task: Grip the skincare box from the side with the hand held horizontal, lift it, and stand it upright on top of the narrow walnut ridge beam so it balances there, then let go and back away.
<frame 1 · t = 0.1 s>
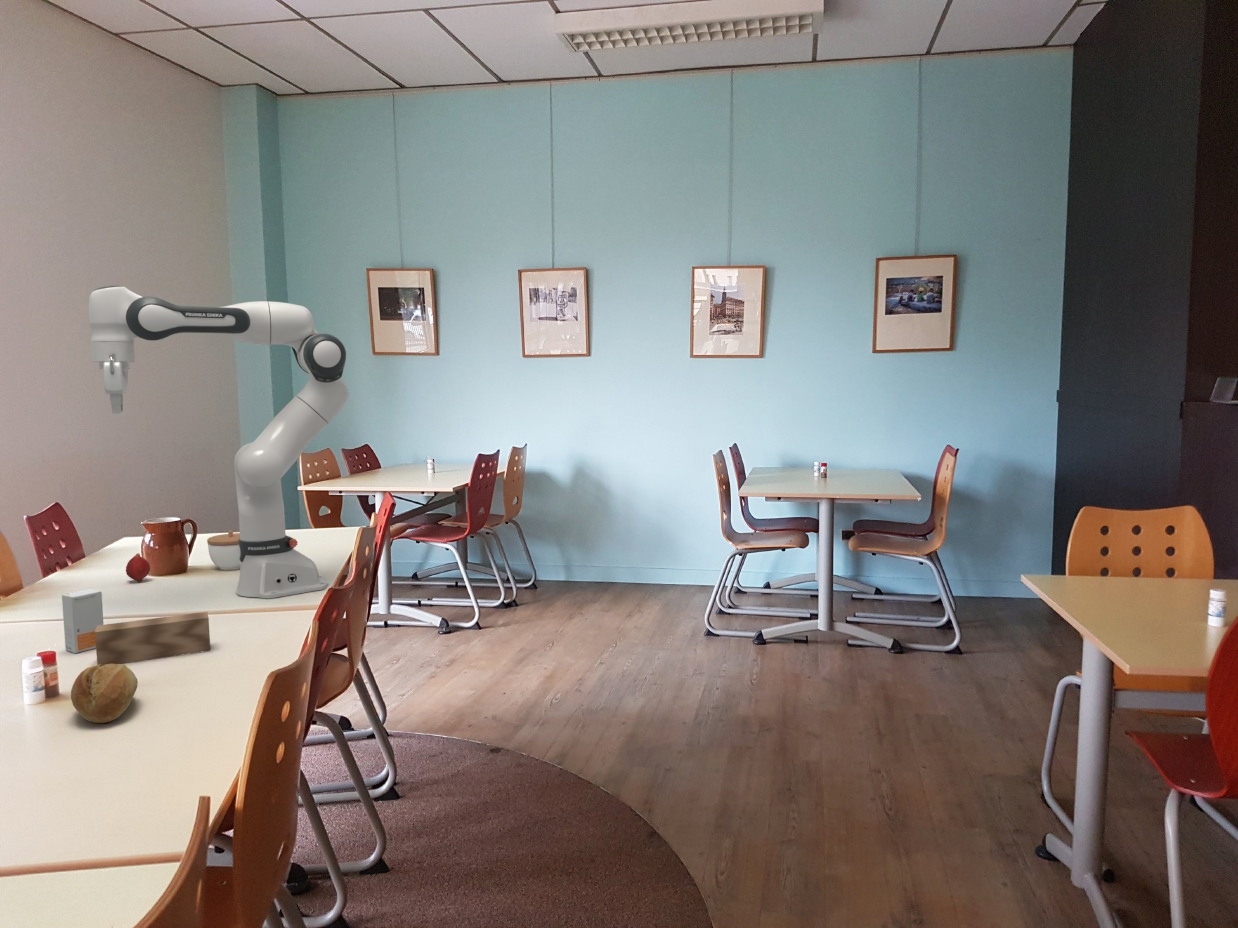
hand: (117, 412, 202), 48 cm above the table, tool pointing down, fingers open, 8 cm apart
bread roll: (106, 713, 143), on the table
lidded bowl: (232, 568, 249), on the table
ridge: (155, 654, 172), on the table
skincare box: (86, 649, 176), on the table
onion: (139, 582, 233), on the table
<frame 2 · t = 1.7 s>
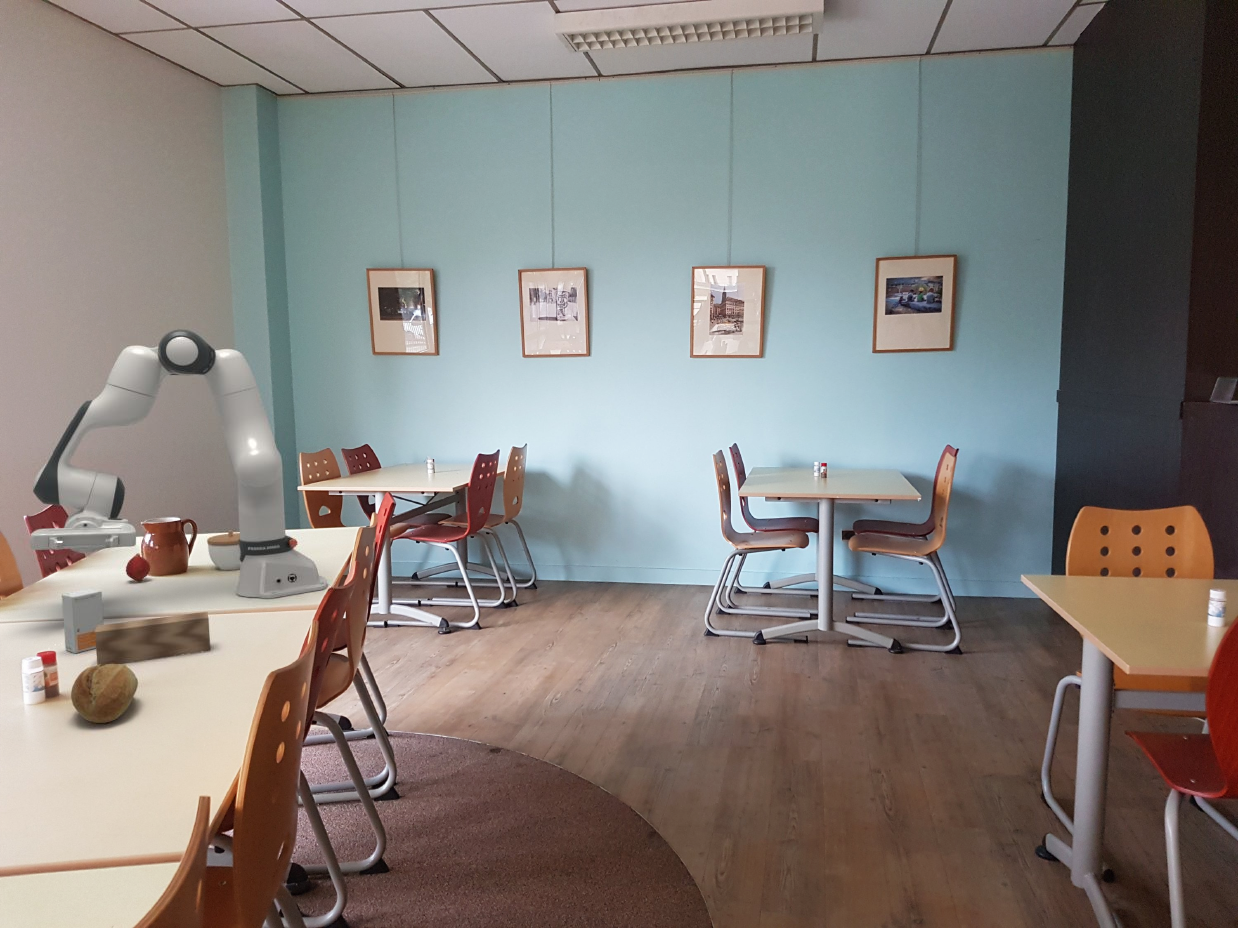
hand: (83, 544, 185), 20 cm above the table, tool horizontal, fingers open, 8 cm apart
nothing on the table moved.
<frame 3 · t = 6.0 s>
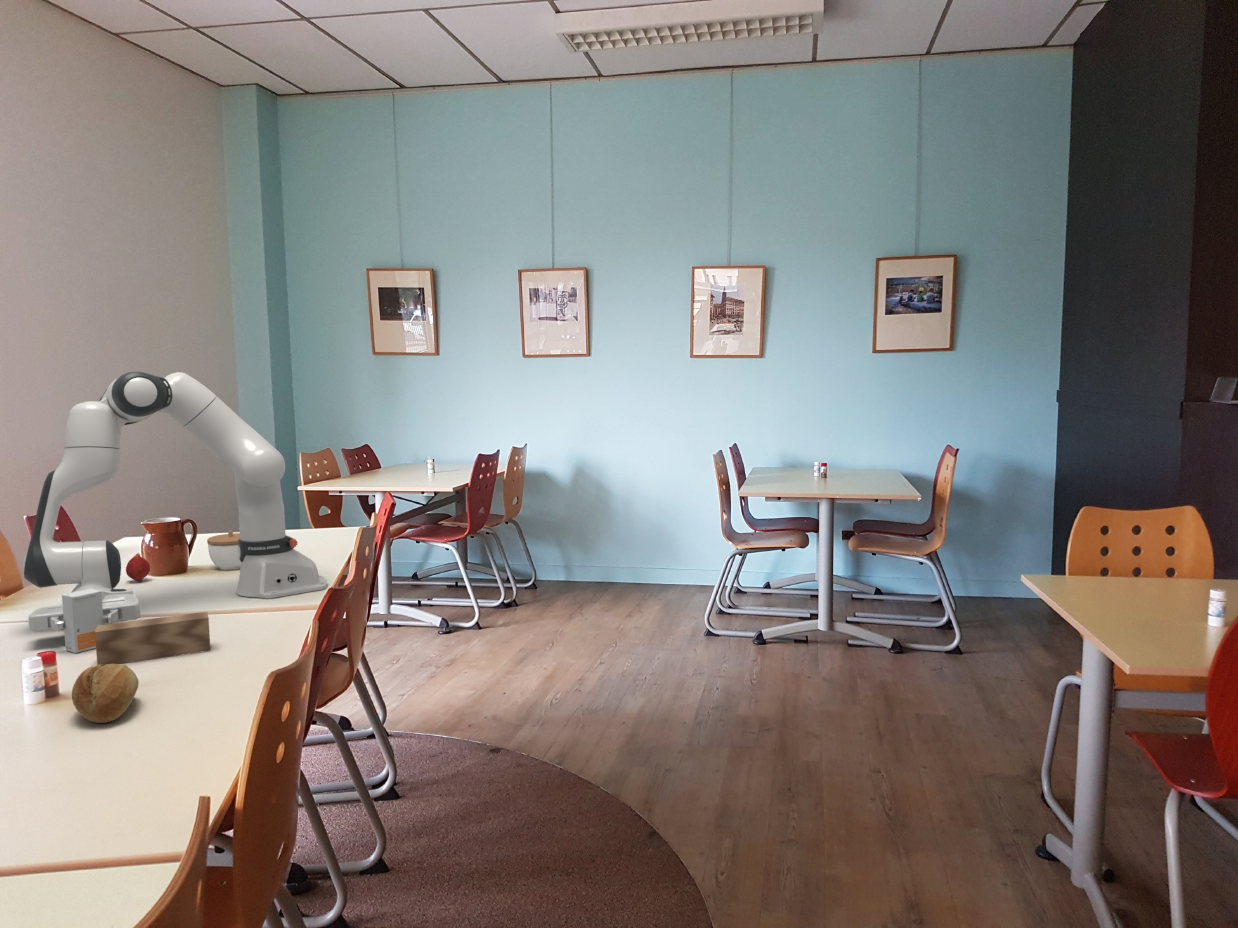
hand: (83, 623, 175), 6 cm above the table, tool horizontal, fingers closed on skincare box, 7 cm apart
skincare box: (86, 649, 176), on the table, touching gripper
everything else where it was.
when the fingers open (13 cm above the table, at t = 11.0 s): skincare box stays where it is, resting on ridge.
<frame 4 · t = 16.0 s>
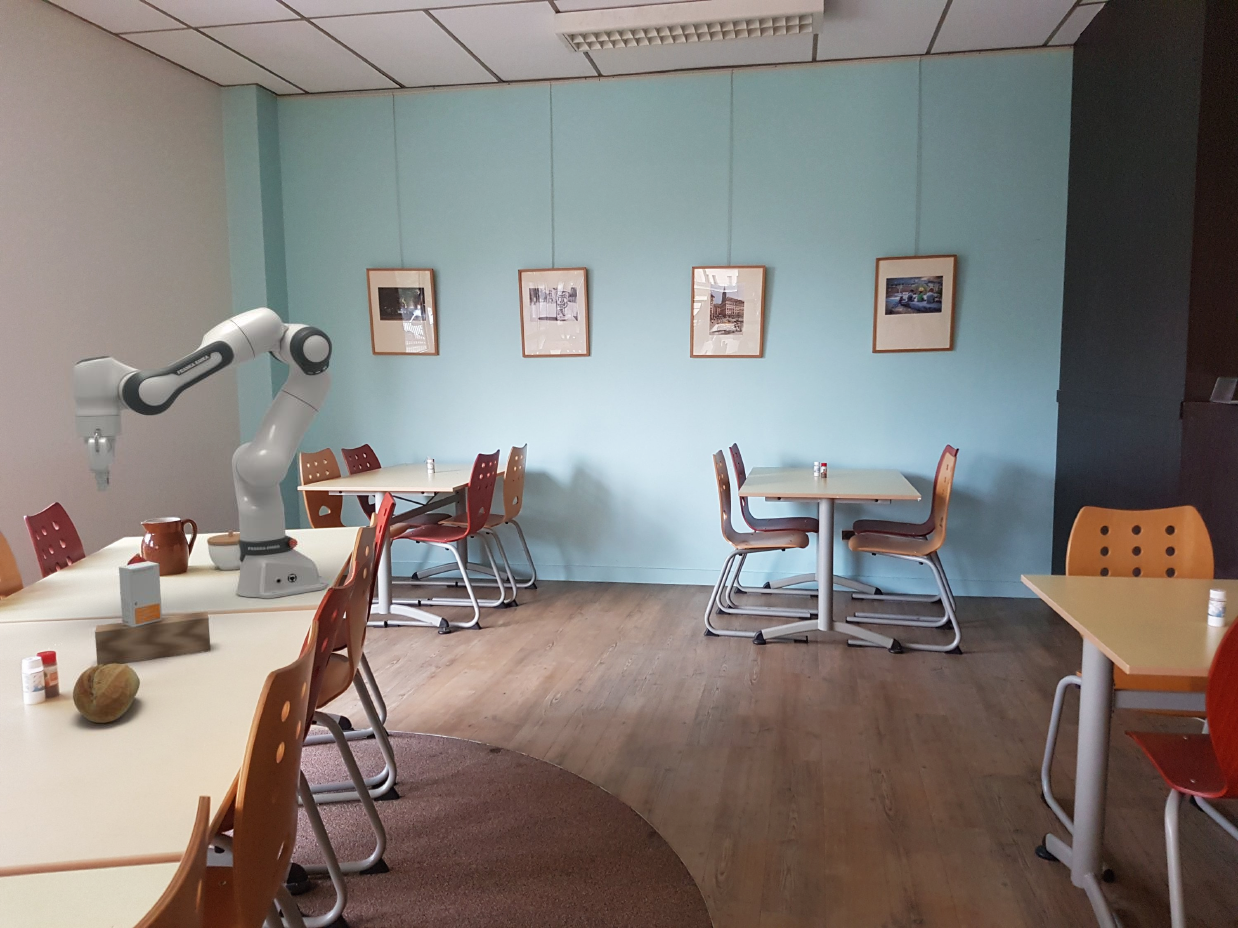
hand: (103, 488, 192), 31 cm above the table, tool pointing down, fingers open, 8 cm apart
skincare box: (143, 623, 170), point 7 cm above the table, touching ridge
everything else where it was.
at the end: skincare box inside the target area on the ridge (0.4 cm from its centre), point 6.8 cm above the ridge's base; skincare box tilted 0°; the gripper is holding nothing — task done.
